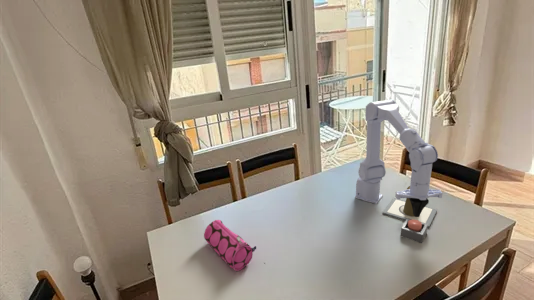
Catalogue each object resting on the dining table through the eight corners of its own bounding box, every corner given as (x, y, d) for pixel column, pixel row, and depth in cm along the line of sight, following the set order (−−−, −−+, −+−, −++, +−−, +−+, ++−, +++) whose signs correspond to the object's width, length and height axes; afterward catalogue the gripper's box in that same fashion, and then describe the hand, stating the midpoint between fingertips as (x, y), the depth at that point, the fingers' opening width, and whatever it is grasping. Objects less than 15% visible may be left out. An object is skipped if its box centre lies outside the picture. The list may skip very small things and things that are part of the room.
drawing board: (382, 213, 123) (382, 211, 123) (393, 199, 132) (393, 197, 132) (428, 228, 113) (429, 225, 112) (437, 210, 122) (437, 208, 121)
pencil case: (258, 261, 104) (256, 237, 100) (235, 276, 98) (231, 251, 95) (224, 233, 119) (220, 211, 116) (202, 245, 114) (197, 223, 110)
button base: (400, 236, 110) (401, 228, 108) (406, 226, 115) (407, 218, 113) (421, 243, 106) (422, 234, 104) (426, 232, 111) (427, 224, 109)
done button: (405, 230, 109) (406, 224, 108) (409, 223, 112) (410, 218, 111) (419, 234, 106) (420, 228, 106) (422, 227, 110) (423, 222, 109)
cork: (418, 208, 123) (421, 184, 119) (421, 217, 117) (424, 191, 113) (402, 207, 124) (404, 183, 120) (404, 215, 119) (406, 190, 115)
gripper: (401, 187, 99) (398, 222, 104) (449, 185, 98) (443, 221, 103) (394, 177, 105) (391, 211, 111) (438, 175, 104) (434, 209, 109)
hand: (416, 215), depth 107 cm, fingers closed
